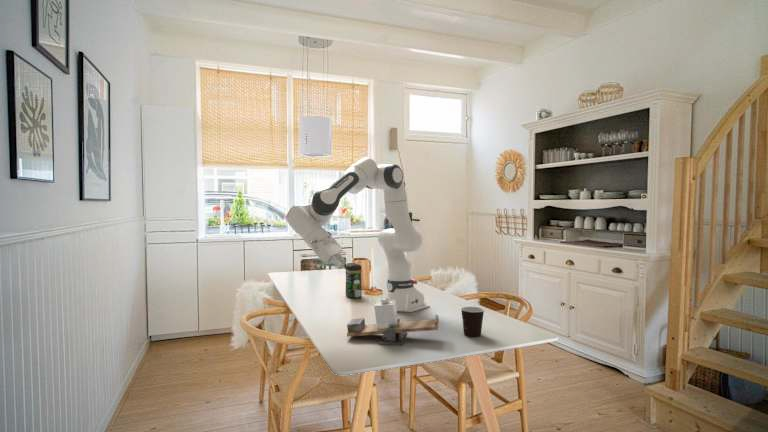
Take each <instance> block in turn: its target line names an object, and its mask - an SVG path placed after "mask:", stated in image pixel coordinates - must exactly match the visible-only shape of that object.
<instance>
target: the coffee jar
mask: <svg viewBox="0 0 768 432" xmlns="http://www.w3.org/2000/svg"><path fill="white" fill-rule="evenodd" d="M345 296H346V297H348V298H349V299H358V298H362V265H360V264H359V263H355V262H348V263H346V265H345Z"/></svg>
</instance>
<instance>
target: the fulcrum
mask: <svg viewBox="0 0 768 432" xmlns="http://www.w3.org/2000/svg"><path fill="white" fill-rule="evenodd" d="M398 322H401V321H400V318H398ZM406 334H407V332H402V333H395V328H387V334H382V336H381V338H380V340H379V345H382V346H384V345H385V346H399V347H401V346H402V345H403V343H404V339H405V336H406Z"/></svg>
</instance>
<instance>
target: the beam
mask: <svg viewBox="0 0 768 432" xmlns="http://www.w3.org/2000/svg"><path fill="white" fill-rule="evenodd" d="M439 321H440V320H439V315H438V314H436V315H435V318H433V319H421V320H409V321H408V320H407V321H400V322H398V325H397V327H396V329H395V333H402V332H406V333H415V332H423V331H424V332H425V331H437V330H439V323H440V322H439ZM346 328H347V332H346V337H347V338H348V337H359V336H361V337H362V336H373V335H383V334H387V329H384V330H377V323H373V324H366V322H365V317H361V318H352V319H350V320H349V322H348V323H347V325H346Z"/></svg>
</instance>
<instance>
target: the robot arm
mask: <svg viewBox="0 0 768 432" xmlns="http://www.w3.org/2000/svg"><path fill="white" fill-rule="evenodd" d="M404 183H405V182H404V173H403V170H402V168H401V167H400V165H399V164H394V163H389V164H387V163H386V164H377V162H376V161H375V160H374V159H372V158H371V157H363V158H361V159H359V160H357V162H354V163H353V164H352V165H351V166H349V167H348V168H347V169H346V170H345V171H344V173H342V175H341V177H339V178H337V180H336V181H334V182H333V183H332V184H331V185H329V186H327V187H324V188H320V189H318V190H317V191H315V193H313V196H312V199H311V202H310V203H307V204H298V203H296V204H295V205H293V206H292V207H291V208H290V209H289V210H288V212H287V213H286V218H285V219H286V222H287V223H288V225H289V226H290V227H291V229H292V230H293V231H294V232H295V233H296V234H297V235H299V236H300V237H301V238H302V240H303V241H304V243H305V244H306V245H307V246H308V247H309V248H310V249H311V250H312V251H313V252H314V254H315V255H316V256H317V258H318V259H319V260H320V261H322V263H326V262H328V261H330V263H332V264H333V265H335V266H336V267H337V268H341V267H342V266H344V265H345V264H347V261H346V260H345V258H344V257H343V255H342V253H343V252H344V250H343V249H344V248H342V246H341V244H339V242H338V241H337V240H336V239H335V238H334V237H333V233H331V232H330V231H328V230H326V229H325V228H324V226H325V225H327V224H328V223H329V222H330V220H331V219H332V216H333V215H334V213H335V211H336V210H337V209H338V207H339V205H340V201H341V199H342V198H343V197H344V196H345V195H347V193H349V194H352V195H355V194H356V195H357V194H359V193H360V192H361V191H363V190H364V189H365V188H366V189H371V190H373V189H377V190H383V200H384V203H383V204H384V210H385V211H384V212H385V218H386V220H388V221H389V222H390V224H391V226H392V227H390V228H386V229H383V230H381V231H380V232H379V233H378V237H377V240H378V244H379V246H380V247H381V248H382V250H383V252H384V254H385V257H386V261H387V268H388V269H387V270H388V278H387V280H386V281H387V283H386V284H387V294H386V295H387V297H386V298H388V299H389V301H393V300H395V302H396V310H397V312H404V313H405V312H406V313H407V312H408V313H411V312H416V311H420V310H422V309H423V310H424V309H425V308H429V307H430V304H429V303H427V302H425V295H424V294H423V293H422V292H421V291H420V290H419V289H417V288H416V286H415V285H417V284H418V280H416V279H412V264H411V262H410V260H409V259H408V258H407V257H406V254H405V253H413V252H416V251H419V250H420V249H421V247H422V246H423V236H422V235H421V233H420V232H419V231H418V230H417V229H416V228H415V226H414V224H413V223H412V220H411V217H410V212H409V205H408V195H407V191H406V190H407V189H406V187H405V184H404ZM414 284H415V285H414Z"/></svg>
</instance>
